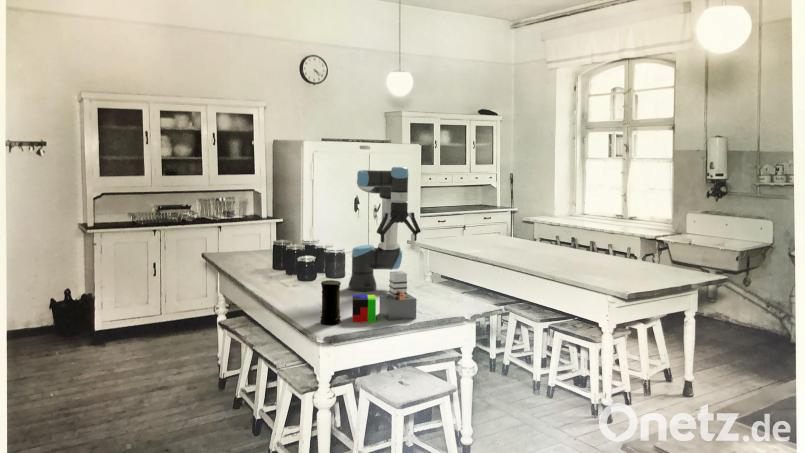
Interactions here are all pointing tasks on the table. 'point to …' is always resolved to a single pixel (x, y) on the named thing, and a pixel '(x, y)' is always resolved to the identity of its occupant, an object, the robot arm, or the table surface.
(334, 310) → the container
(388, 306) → the housing
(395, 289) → the column
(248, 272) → the table surface
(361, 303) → the puzzle toy
